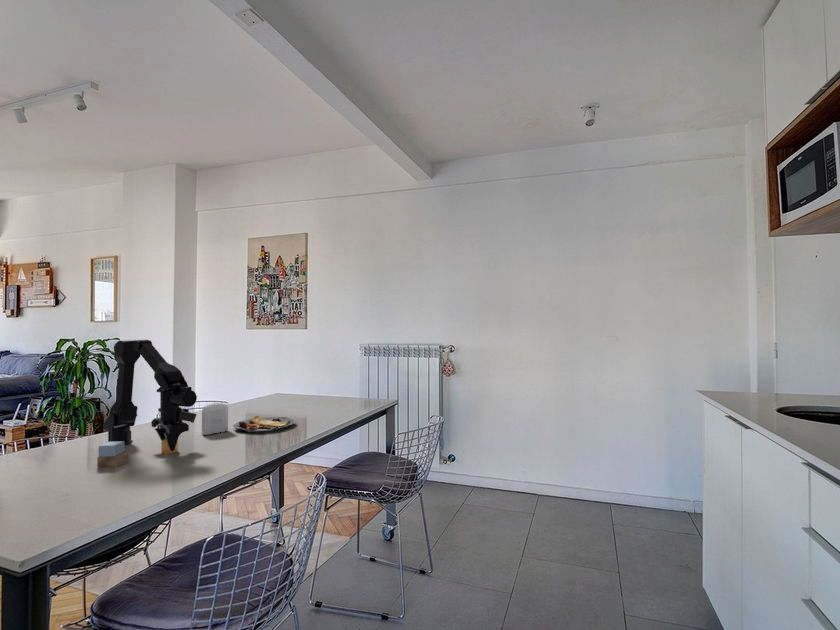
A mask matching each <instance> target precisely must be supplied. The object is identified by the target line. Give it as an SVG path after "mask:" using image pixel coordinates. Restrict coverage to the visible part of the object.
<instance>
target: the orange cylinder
mask: <svg viewBox="0 0 840 630" xmlns="http://www.w3.org/2000/svg"><path fill="white" fill-rule="evenodd" d="M178 443H179V439H178V440H177V443H176V447H175V450H174V451H171V450H170V448H169V445H168V443H167V440H166V439H163V440H162V441H161V454H162V455H172V453H173V454H176V453H178V452H177V451H179V445H178ZM175 452H176V453H175Z"/></svg>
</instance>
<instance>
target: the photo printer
mask: <svg viewBox="0 0 840 630" xmlns="http://www.w3.org/2000/svg"><path fill="white" fill-rule="evenodd" d="M225 431H227V432H228V431H229V406H228V404H227V403H223V402H213V403H208V404H206V405H203V407H202V410H201V435H202V436H209V435H214V433H215V434H220V432H221V433H226V432H225Z"/></svg>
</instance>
